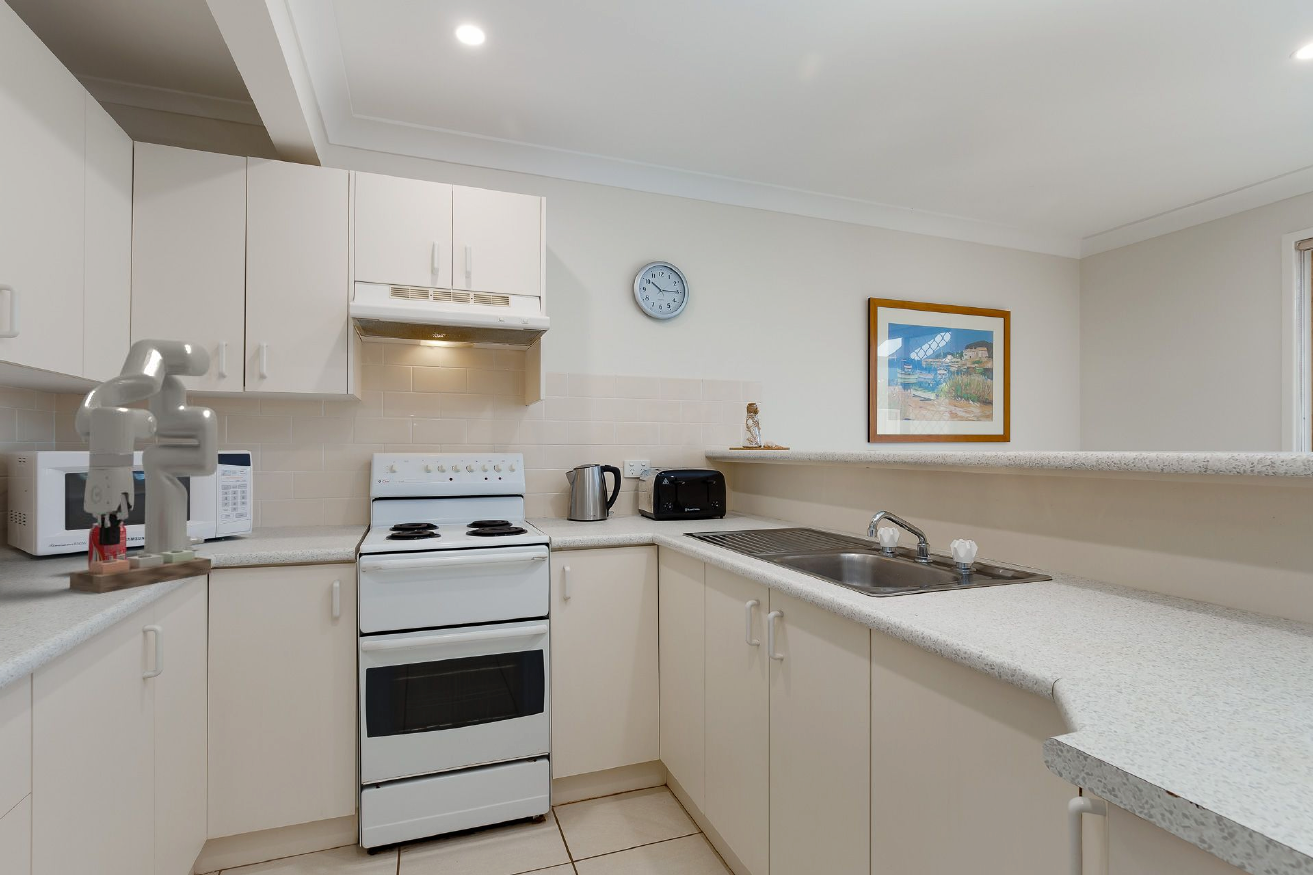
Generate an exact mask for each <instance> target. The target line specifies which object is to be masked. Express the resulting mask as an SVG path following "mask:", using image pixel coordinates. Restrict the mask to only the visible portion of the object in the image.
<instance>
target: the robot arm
mask: <svg viewBox="0 0 1313 875" xmlns="http://www.w3.org/2000/svg"><path fill="white" fill-rule="evenodd" d="M210 359H211V358H210V354H209V353H208V351H207V349H205V347H203V346H201V345H198V344H196V343H192V342H189V341H181V340H165V339H152V338H151V339H141V340H137V341H135V343H133V344H132V345H131V346H130V349H129V351H128V354H127V355H126V359H125V361H124V363H123V366H122V368H121V371H120V373H119V375H118V376H116V377H113V378H111V379H109V380H106V381H104V382H102V383H101V384H99V385H97V386H95V387H94V388H92V389H91V390H90V391H89V392H88V393H86V395H85V396H84V397H83V399H82V401H81V404H80V406H79V409H78V410H77V413H76V416H75V420H74V421H75V423H74V424H75V426H74V428H75V430H76V432H77V435H79V436H80V437H82V438H84V439H87V440H89V457H88V458H89V459H88V461H89V462H88V473H87V477H86V480H85V486H84V498H83V499H84V501H83V511H84V512H85V513H89V514H92V517H93V518H94V519H97V523H98V526H99V545H103V546H108V545H116V544H120V526H122V522H123V521H124V520H126V519H129V513H130V512H131V511H133V510H134V504H135V483H134V475H133V474H134V473H133V469H134V460H135V459H134V458H135V457H134V456H135V455H134V453H135V441H144V440H146V439H147V440H148V439H149V438H152V436H153V437H155V438H158V439H166V440H167V439H169V440H195V441H196V442H197V443H169V442H168V443H165V442H164V443H157V444H156V443H155V444H152V445H149V446H148V447H146V448H144V450H143V452H142V454H141V463H142V468H143V470H142V471H143V475H144V482H145V483H144V485H145V499H144V500H145V501H144V502H145V503H144V504H145V506H144V512H145V513H144V547H143V549H141V550H139V551H137V553H136V556H141V555H148V554H152V555H159V553H162V552H169V551H176V550H188V551H194V547H192V546H193V545H199V544H203V543H204V542H205V538H204V536H199V537H198V536H196V537H192V536H191V535H190V536H189V535H187V533H188V532H187V528H188V526H187V525H188V491H187V489H186V487H185V486H184V484H183V483H182V482H181V481H180V480H179V479H178V478H182V477H183V478H186V477H188V478H189V477H190V478H191V477H194V478H195V477H196V478H197V477H210V476H212V475H215V473H216V471H217V469H218V465H219V464H218V463H219V427H218V426H219V423H218V417H217V413H216V412H215V411H214V410H213V409H212V408H210V407H207V406H206V407H205V406H193V405H192V406H191V405H189V406H188V404H187V388H186V386H185V384H184V383H183V381H181V379H179V378H178V377H177V376H182V377H183V376H186V377H187V376H188V377H202V376H204V375H206V374H207V373H208V371H209V369H210V365H211V360H210ZM146 399H148V410H147V409H144V408H135V407H134V408H133V407H132V408H131V407H123V406H121V405H126V404H130V403H135V402H139V401H143V400H146Z"/></svg>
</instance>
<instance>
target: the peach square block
mask: <svg viewBox="0 0 1313 875" xmlns="http://www.w3.org/2000/svg"><path fill="white" fill-rule="evenodd" d="M129 566H130V561H127V560H119V559H113V560H106V561H99V562H92V563H90V565H88V570H89V572H90V573H97V574H107V573H113V572H120V571H126V570H129Z"/></svg>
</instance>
